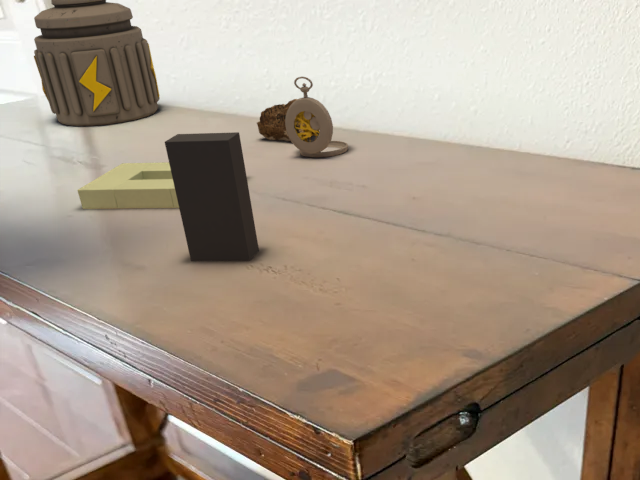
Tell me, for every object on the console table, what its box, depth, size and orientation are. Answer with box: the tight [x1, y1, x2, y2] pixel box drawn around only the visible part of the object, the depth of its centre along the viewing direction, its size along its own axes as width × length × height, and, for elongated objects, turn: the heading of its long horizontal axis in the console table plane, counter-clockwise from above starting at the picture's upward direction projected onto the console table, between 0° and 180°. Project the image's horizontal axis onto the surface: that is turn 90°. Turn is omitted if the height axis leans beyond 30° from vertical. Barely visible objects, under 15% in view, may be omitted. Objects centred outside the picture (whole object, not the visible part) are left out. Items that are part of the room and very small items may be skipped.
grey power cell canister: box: [33, 0, 161, 127], centre depth 135 cm, size 19×19×30 cm
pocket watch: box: [285, 76, 349, 158], centre depth 107 cm, size 8×8×10 cm
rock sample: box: [256, 98, 317, 142], centre depth 118 cm, size 10×8×9 cm
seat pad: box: [76, 161, 179, 210], centre depth 98 cm, size 16×12×2 cm
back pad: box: [164, 131, 260, 262], centre depth 76 cm, size 6×3×11 cm, turn 80°
